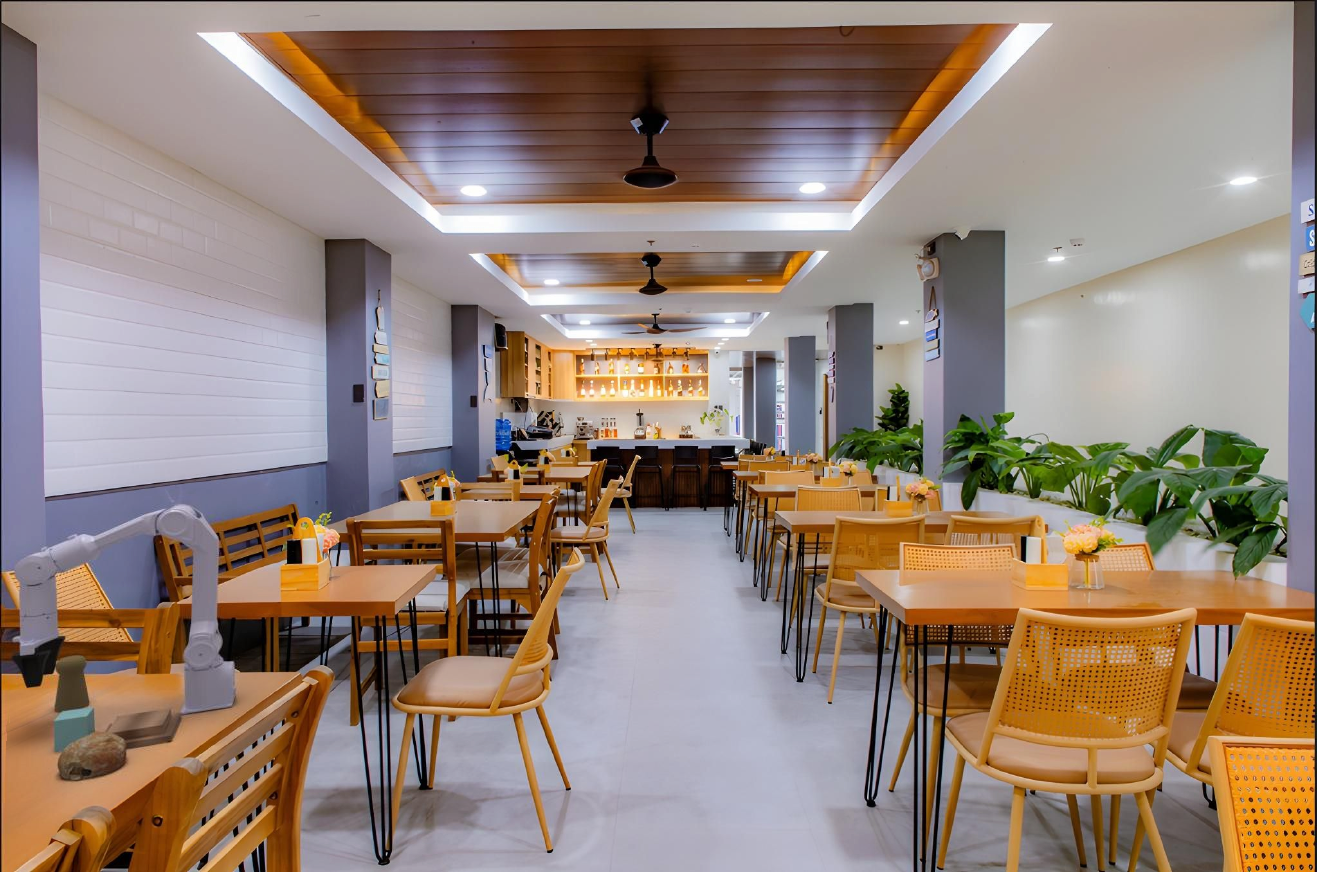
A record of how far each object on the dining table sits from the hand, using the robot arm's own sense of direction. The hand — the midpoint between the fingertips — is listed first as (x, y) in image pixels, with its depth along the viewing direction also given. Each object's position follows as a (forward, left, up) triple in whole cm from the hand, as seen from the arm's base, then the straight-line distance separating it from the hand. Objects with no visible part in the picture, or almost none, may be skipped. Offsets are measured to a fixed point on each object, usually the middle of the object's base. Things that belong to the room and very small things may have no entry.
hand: (40, 680), depth 145 cm
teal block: (-8, +11, -10) cm, 17 cm away
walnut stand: (-18, +12, -10) cm, 24 cm away
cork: (-2, -12, -10) cm, 16 cm away
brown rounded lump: (-14, +24, -10) cm, 29 cm away
